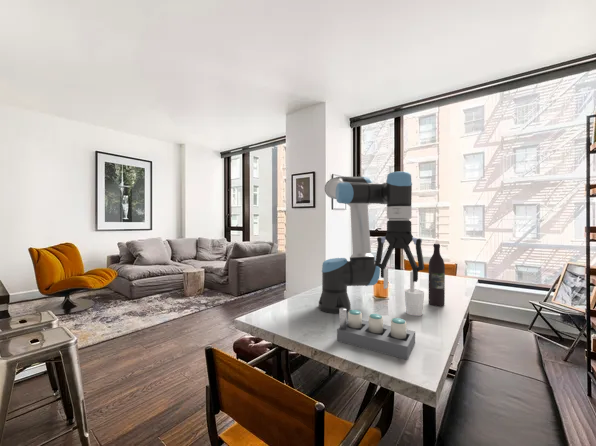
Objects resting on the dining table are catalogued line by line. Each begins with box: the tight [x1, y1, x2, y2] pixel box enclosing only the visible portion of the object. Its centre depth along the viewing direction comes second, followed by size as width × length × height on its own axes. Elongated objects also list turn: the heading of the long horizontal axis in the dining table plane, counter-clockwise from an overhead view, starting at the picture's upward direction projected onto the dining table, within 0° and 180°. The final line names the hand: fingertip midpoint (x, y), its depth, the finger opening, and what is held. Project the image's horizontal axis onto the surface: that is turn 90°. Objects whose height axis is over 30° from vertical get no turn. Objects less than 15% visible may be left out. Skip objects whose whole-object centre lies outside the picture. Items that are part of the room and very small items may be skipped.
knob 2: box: [390, 317, 407, 339], centre depth 87 cm, size 5×5×5 cm
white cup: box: [404, 288, 425, 317], centre depth 119 cm, size 8×8×10 cm
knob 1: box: [347, 309, 363, 328], centre depth 95 cm, size 5×5×5 cm
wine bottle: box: [428, 243, 446, 308], centre depth 131 cm, size 7×7×30 cm
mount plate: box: [336, 319, 416, 361], centre depth 91 cm, size 23×13×4 cm, turn 57°
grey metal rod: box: [338, 308, 347, 330], centre depth 92 cm, size 2×2×7 cm
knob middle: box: [368, 313, 384, 333], centre depth 91 cm, size 5×5×5 cm
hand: (398, 289), depth 87 cm, fingers open, 8 cm apart
